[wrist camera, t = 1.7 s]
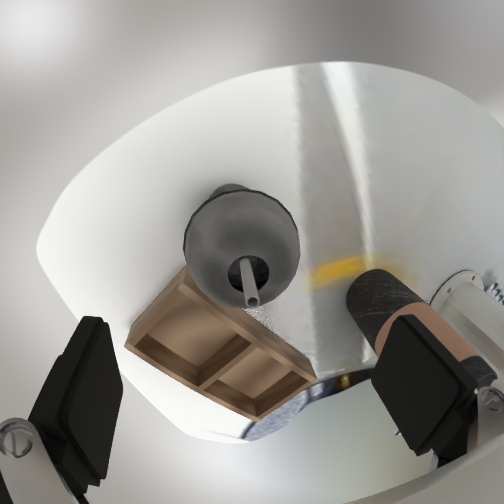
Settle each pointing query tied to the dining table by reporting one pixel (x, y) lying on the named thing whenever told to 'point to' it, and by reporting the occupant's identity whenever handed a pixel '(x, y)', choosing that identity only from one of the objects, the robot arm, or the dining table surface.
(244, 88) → the dining table surface
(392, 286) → the travel mug
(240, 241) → the beverage cup
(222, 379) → the tray
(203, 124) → the dining table surface
